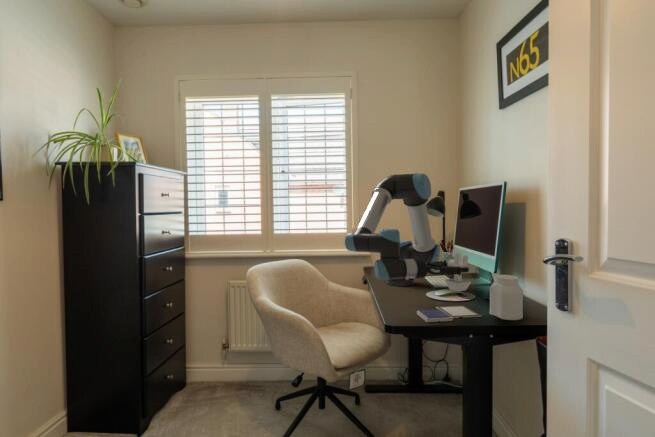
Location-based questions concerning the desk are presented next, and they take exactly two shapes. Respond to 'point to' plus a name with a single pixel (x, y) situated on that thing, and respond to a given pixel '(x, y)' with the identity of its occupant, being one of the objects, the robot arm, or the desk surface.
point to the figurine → (457, 282)
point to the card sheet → (458, 311)
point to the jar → (506, 298)
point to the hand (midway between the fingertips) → (468, 266)
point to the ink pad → (434, 315)
